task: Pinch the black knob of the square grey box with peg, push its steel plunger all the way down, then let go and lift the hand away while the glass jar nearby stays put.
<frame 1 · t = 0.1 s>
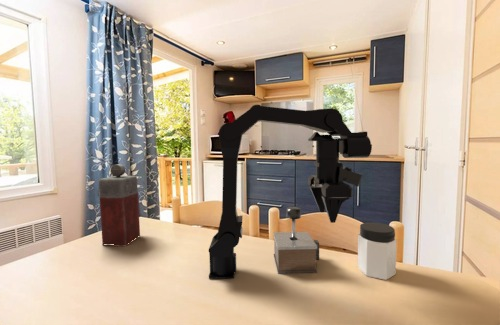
hand: (327, 216, 65), 15 cm above the table, tool pointing down, fingers open, 9 cm apart
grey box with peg: (293, 263, 70), on the table
jar: (375, 271, 65), on the table
red canister: (124, 239, 90), on the table
plunger: (293, 227, 69), point 10 cm above the table, slide at 4.0 cm
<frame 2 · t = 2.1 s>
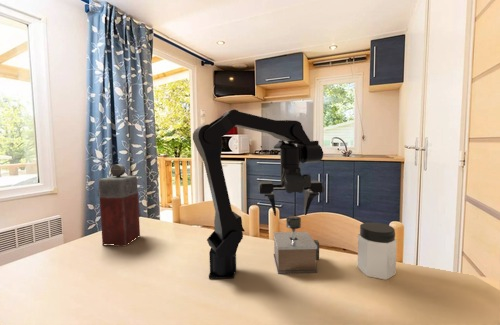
hand: (290, 215, 74), 13 cm above the table, tool pointing down, fingers open, 9 cm apart
plunger: (293, 237, 69), point 8 cm above the table, slide at 1.3 cm
everything else where it was.
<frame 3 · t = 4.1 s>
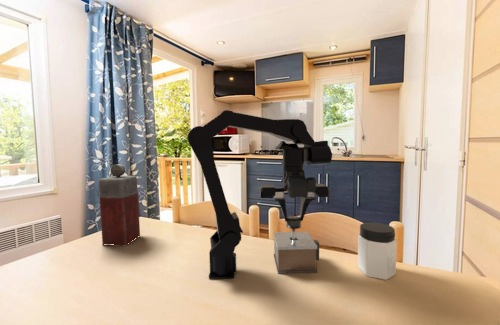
hand: (293, 220, 69), 12 cm above the table, tool pointing down, fingers closed on plunger, 4 cm apart
plunger: (293, 237, 69), point 8 cm above the table, slide at 1.3 cm, touching gripper
everything else where it was.
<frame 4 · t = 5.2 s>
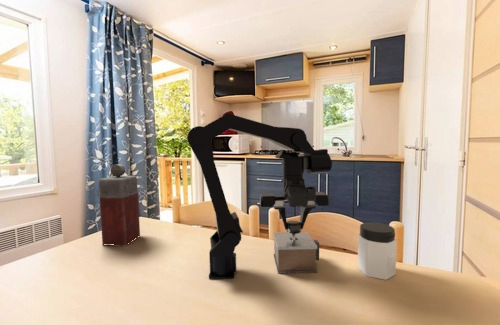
hand: (293, 229, 69), 10 cm above the table, tool pointing down, fingers closed on plunger, 4 cm apart
plunger: (293, 241, 69), point 6 cm above the table, slide at -0.1 cm, touching gripper
everything else where it was.
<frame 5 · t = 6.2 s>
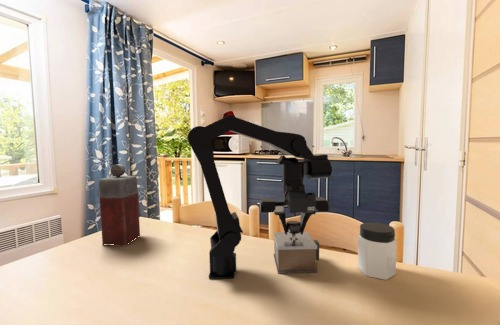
hand: (293, 234, 69), 9 cm above the table, tool pointing down, fingers closed on plunger, 4 cm apart
plunger: (293, 241, 69), point 6 cm above the table, slide at -0.1 cm, touching gripper
everything else where it was.
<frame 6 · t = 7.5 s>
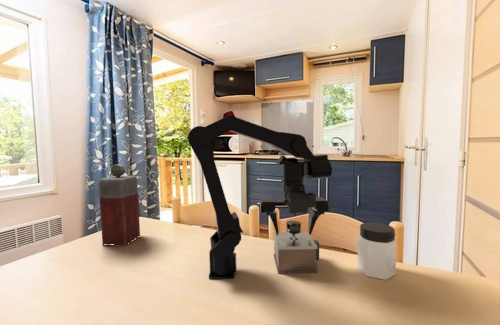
hand: (293, 234, 69), 9 cm above the table, tool pointing down, fingers open, 9 cm apart
plunger: (293, 241, 69), point 6 cm above the table, slide at -0.1 cm
everything else where it was.
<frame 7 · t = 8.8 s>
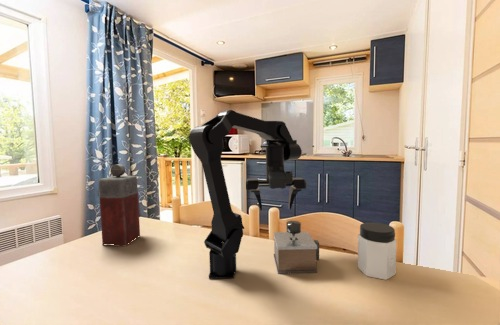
hand: (275, 209, 79), 13 cm above the table, tool pointing down, fingers open, 9 cm apart
nothing on the table moved.
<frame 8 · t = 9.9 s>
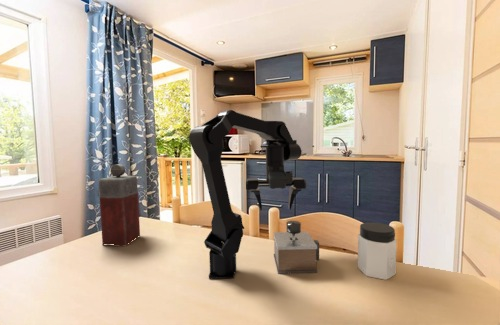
hand: (275, 209, 79), 13 cm above the table, tool pointing down, fingers open, 9 cm apart
nothing on the table moved.
at the end: plunger slide at -0.1 cm; the gripper is holding nothing; jar moved 0.2 cm from its start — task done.
